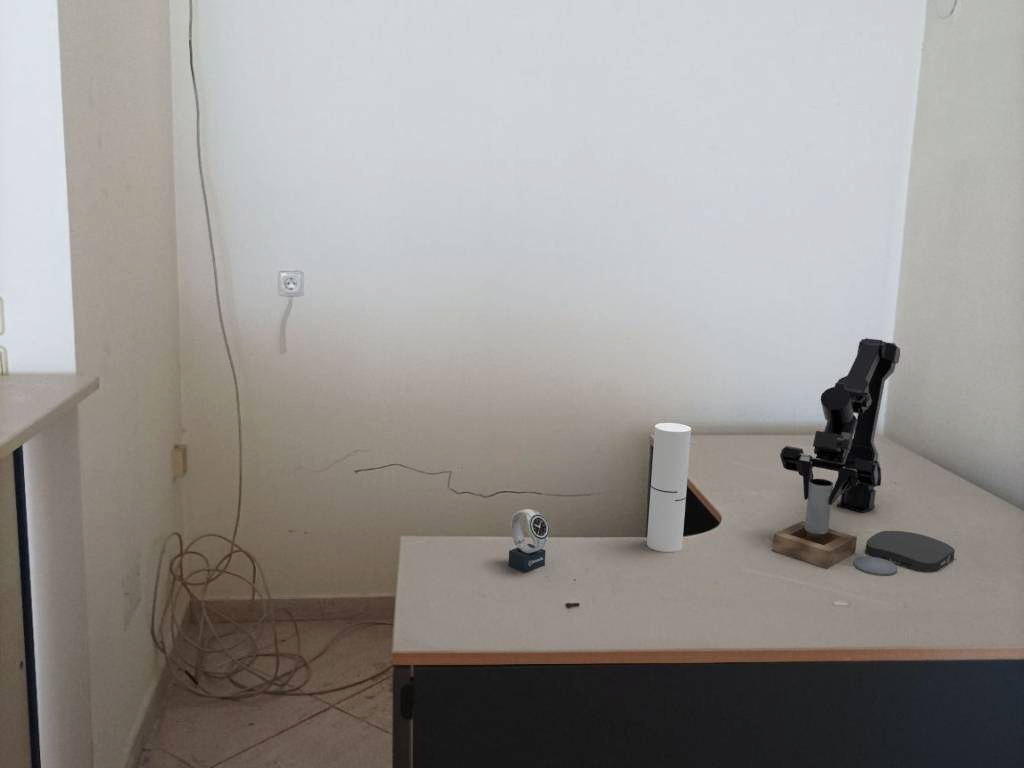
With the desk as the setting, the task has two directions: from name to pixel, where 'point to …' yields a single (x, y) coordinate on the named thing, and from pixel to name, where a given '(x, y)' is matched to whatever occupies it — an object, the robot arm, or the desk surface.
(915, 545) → the media streaming box
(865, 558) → the mat
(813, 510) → the planter
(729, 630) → the desk surface
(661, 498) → the cylindrical container
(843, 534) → the planter holder
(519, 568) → the watch
